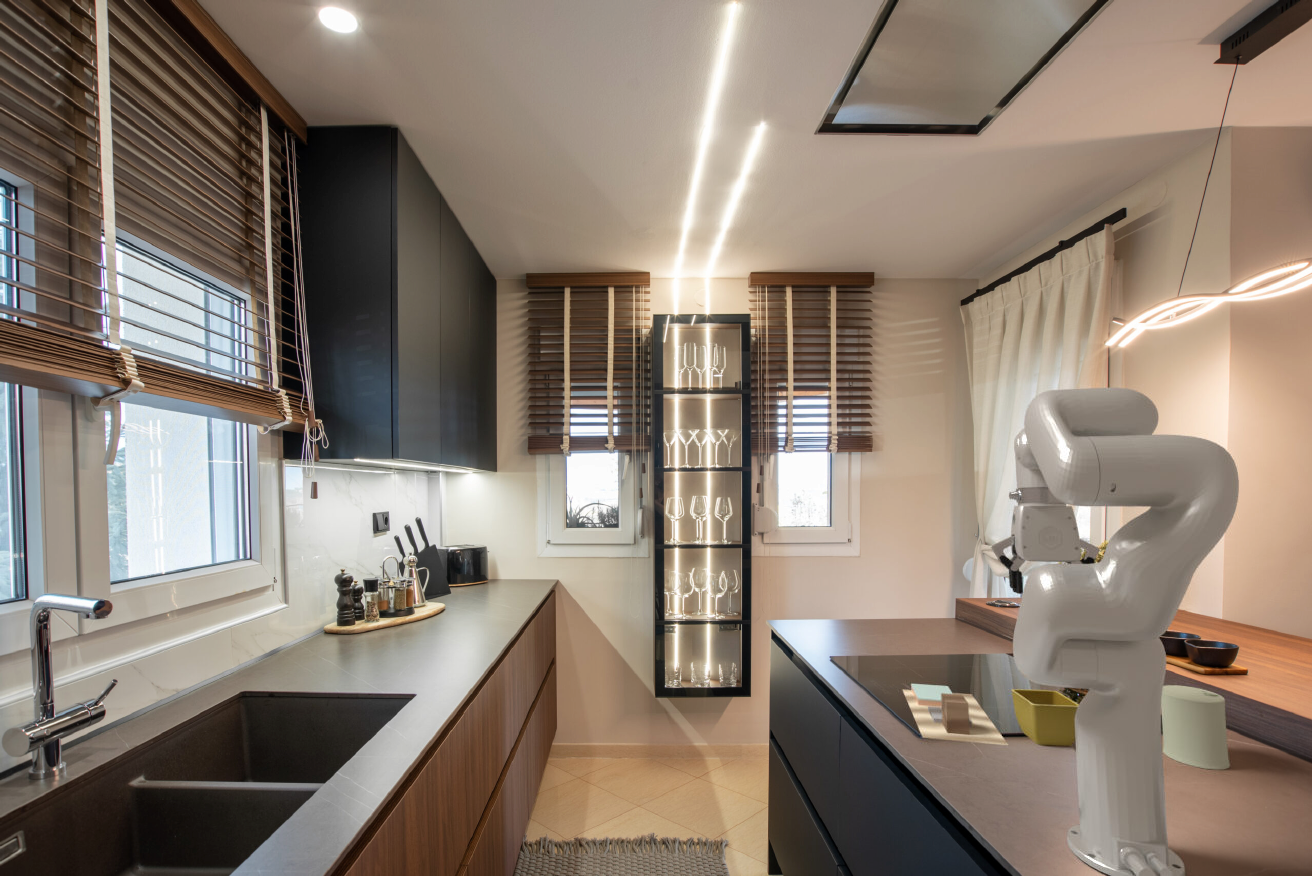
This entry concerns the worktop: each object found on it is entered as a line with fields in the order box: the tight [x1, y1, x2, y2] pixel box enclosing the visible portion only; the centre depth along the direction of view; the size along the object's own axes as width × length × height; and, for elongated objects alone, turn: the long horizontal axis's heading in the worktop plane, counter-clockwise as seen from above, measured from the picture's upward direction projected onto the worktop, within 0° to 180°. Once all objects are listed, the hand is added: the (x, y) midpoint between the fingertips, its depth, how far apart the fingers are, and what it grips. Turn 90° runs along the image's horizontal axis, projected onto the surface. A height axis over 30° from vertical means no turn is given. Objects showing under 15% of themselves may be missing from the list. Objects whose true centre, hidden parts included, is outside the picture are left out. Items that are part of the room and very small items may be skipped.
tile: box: [910, 683, 954, 707], centre depth 139 cm, size 2×8×10 cm
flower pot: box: [1011, 688, 1080, 747], centre depth 118 cm, size 9×9×9 cm
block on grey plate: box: [928, 693, 972, 735], centre depth 126 cm, size 12×7×6 cm, turn 166°
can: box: [1161, 684, 1231, 771], centre depth 112 cm, size 9×9×12 cm
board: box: [901, 688, 1009, 746], centre depth 130 cm, size 28×15×1 cm, turn 166°
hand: (1047, 593), depth 111 cm, fingers open, 9 cm apart
